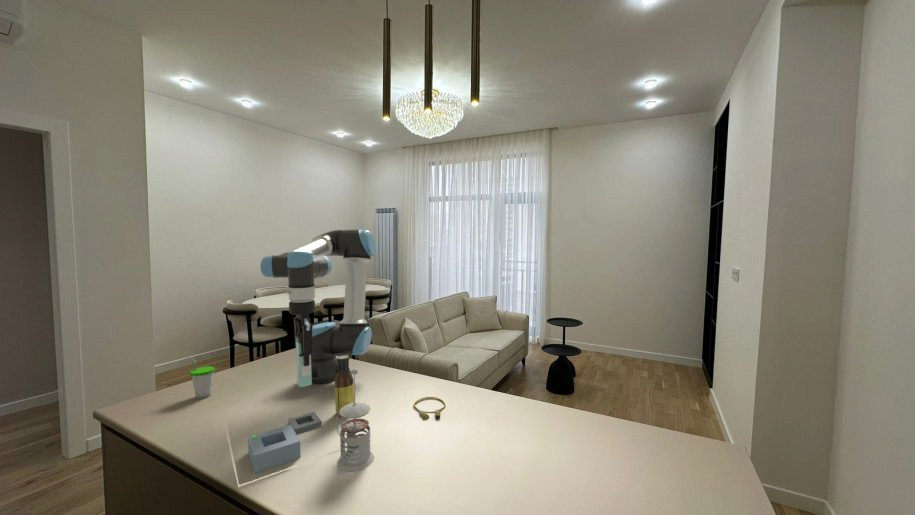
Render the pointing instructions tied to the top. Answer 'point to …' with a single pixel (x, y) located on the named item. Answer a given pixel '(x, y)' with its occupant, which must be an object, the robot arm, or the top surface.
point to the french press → (354, 436)
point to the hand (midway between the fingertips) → (304, 373)
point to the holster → (305, 422)
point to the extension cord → (425, 416)
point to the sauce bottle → (343, 384)
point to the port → (273, 448)
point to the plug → (305, 379)
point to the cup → (202, 380)
